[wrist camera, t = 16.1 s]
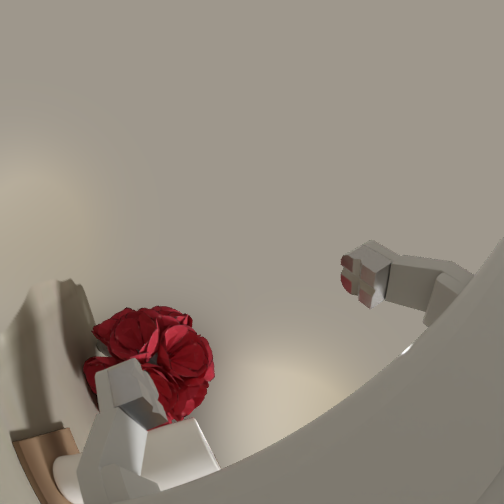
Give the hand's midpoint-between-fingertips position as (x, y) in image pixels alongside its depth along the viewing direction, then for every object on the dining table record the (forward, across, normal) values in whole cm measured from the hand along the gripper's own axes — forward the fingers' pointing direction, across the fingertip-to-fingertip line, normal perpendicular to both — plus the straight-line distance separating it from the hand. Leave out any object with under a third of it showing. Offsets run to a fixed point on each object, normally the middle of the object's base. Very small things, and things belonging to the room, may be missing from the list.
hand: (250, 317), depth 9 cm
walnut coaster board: (+3, -22, -16) cm, 27 cm away
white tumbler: (+4, -21, -15) cm, 26 cm away
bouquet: (+30, -24, -30) cm, 49 cm away
